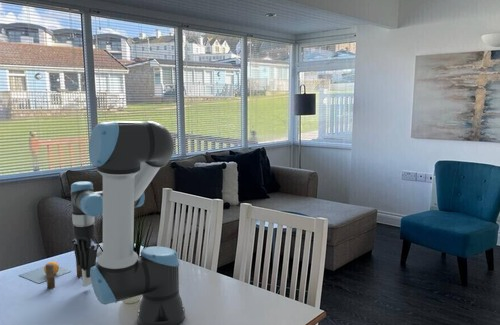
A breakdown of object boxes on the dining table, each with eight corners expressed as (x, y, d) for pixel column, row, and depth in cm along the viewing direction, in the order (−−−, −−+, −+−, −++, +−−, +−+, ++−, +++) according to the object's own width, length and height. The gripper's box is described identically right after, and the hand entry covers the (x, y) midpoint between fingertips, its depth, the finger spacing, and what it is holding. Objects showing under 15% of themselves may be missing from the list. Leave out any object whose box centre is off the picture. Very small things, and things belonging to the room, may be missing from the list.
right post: (85, 275, 165) (84, 254, 164) (79, 277, 163) (78, 256, 162) (81, 274, 167) (80, 252, 165) (75, 276, 165) (74, 254, 163)
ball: (53, 258, 169) (54, 271, 169) (40, 262, 164) (41, 275, 165) (61, 261, 166) (62, 274, 166) (48, 265, 161) (49, 278, 162)
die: (110, 267, 175) (120, 246, 179) (91, 259, 173) (102, 238, 177) (108, 267, 183) (118, 247, 186) (90, 259, 180) (101, 239, 184)
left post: (56, 286, 155) (54, 264, 154) (49, 289, 153) (48, 266, 151) (52, 285, 156) (50, 262, 155) (45, 287, 154) (44, 265, 153)
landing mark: (71, 271, 169) (71, 271, 169) (38, 283, 157) (38, 283, 157) (51, 264, 177) (51, 263, 177) (18, 275, 165) (18, 275, 165)
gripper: (104, 224, 149) (106, 285, 152) (81, 218, 156) (84, 277, 159) (86, 229, 143) (89, 292, 146) (63, 223, 150) (67, 284, 153)
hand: (87, 284), depth 153 cm, fingers closed
